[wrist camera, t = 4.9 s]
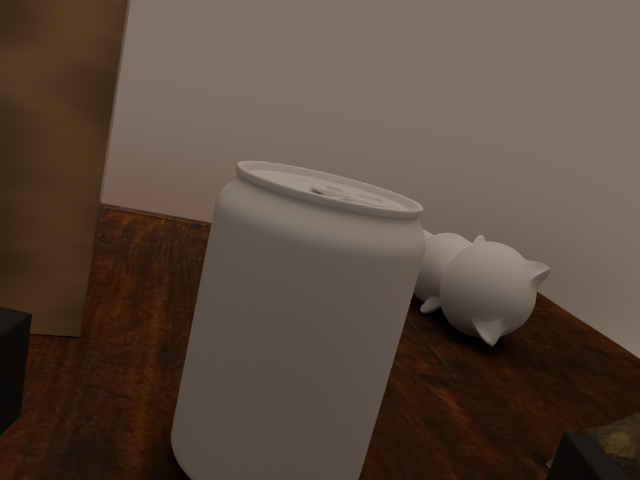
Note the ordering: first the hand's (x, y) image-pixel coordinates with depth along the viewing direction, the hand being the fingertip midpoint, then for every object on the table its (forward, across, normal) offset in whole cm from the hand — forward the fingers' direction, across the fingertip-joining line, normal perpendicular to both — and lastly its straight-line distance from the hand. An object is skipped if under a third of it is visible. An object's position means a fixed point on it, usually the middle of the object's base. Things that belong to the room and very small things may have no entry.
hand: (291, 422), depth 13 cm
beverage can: (+8, 0, +7) cm, 11 cm away
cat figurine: (+32, -15, +7) cm, 36 cm away
